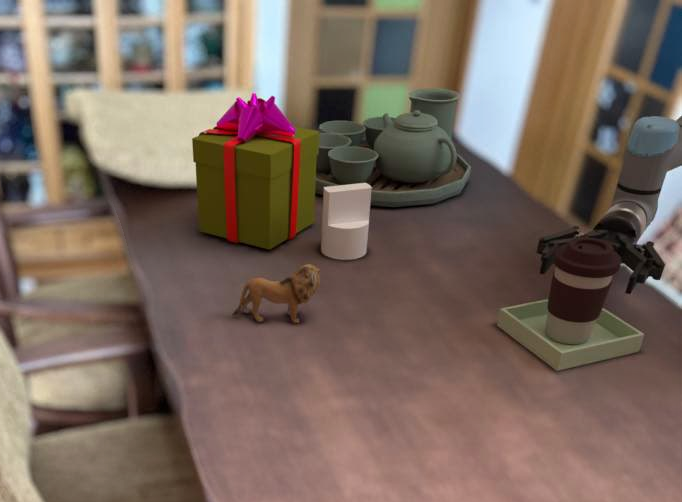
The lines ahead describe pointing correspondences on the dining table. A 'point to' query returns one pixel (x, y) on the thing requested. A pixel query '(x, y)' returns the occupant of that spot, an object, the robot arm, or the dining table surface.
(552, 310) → the coffee cup
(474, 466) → the dining table surface
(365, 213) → the cylinder with rectangular tab
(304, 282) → the lion figurine
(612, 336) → the tray
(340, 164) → the tea set
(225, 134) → the gift box
